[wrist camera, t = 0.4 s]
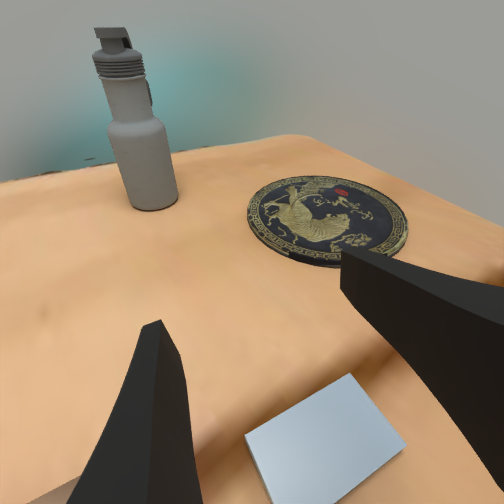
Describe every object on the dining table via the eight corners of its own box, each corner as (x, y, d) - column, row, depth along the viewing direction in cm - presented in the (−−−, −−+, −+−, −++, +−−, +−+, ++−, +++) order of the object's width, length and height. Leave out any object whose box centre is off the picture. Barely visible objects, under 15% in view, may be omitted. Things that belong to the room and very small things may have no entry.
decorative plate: (331, 165, 67) (447, 225, 47) (329, 172, 68) (442, 234, 49) (221, 194, 56) (313, 289, 36) (221, 202, 57) (311, 298, 38)
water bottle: (134, 190, 60) (83, 26, 42) (178, 186, 62) (148, 26, 43) (127, 214, 53) (62, 28, 34) (178, 209, 54) (141, 28, 36)
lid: (398, 451, 24) (407, 445, 23) (286, 541, 20) (289, 539, 19) (345, 381, 29) (349, 372, 28) (245, 442, 25) (244, 435, 24)
